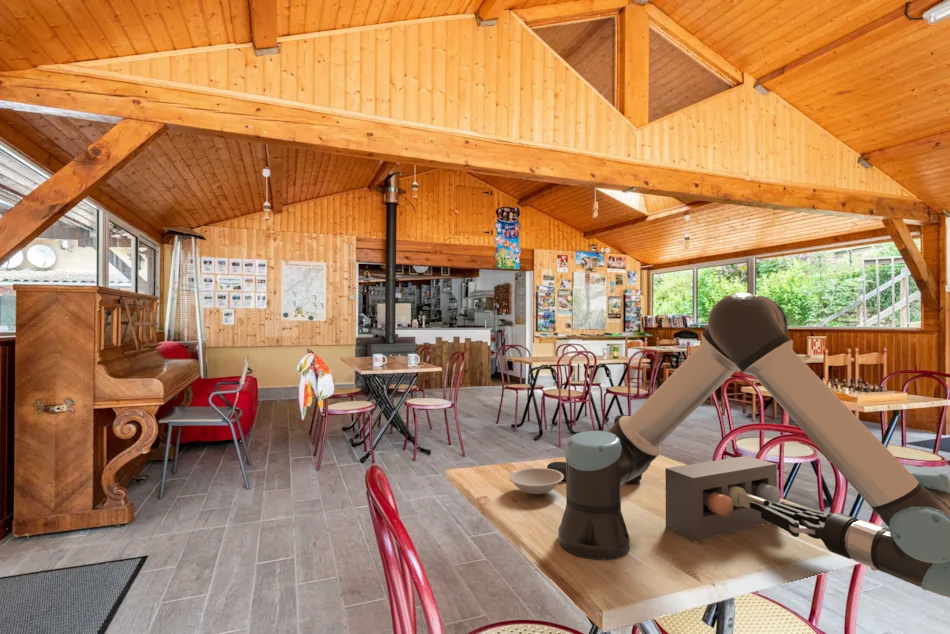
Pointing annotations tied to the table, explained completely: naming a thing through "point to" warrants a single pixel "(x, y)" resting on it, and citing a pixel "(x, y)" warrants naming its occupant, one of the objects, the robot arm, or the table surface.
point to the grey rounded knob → (766, 492)
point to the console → (696, 479)
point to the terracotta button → (718, 503)
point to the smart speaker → (558, 467)
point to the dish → (536, 480)
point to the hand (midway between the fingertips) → (741, 498)
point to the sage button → (734, 494)
